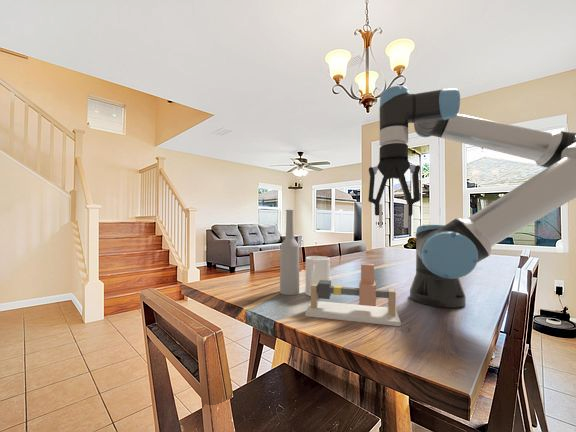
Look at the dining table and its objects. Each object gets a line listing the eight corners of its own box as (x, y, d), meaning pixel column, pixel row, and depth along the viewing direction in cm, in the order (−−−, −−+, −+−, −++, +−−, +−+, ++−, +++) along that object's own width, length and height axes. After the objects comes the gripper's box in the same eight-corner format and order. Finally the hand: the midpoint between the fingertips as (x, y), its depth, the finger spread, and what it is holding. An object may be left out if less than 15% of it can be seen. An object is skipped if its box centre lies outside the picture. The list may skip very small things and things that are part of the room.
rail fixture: (395, 311, 74) (395, 282, 74) (400, 326, 64) (400, 292, 64) (312, 303, 80) (312, 276, 80) (305, 316, 70) (305, 285, 70)
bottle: (275, 292, 92) (276, 209, 91) (290, 288, 96) (290, 210, 96) (289, 296, 87) (289, 209, 87) (303, 292, 91) (303, 209, 91)
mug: (323, 301, 82) (323, 262, 82) (297, 298, 85) (297, 260, 85) (333, 291, 93) (333, 256, 93) (309, 288, 96) (310, 255, 96)
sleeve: (374, 300, 73) (375, 263, 73) (375, 306, 68) (375, 266, 68) (359, 298, 74) (359, 262, 74) (359, 304, 69) (359, 265, 69)
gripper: (427, 146, 77) (427, 227, 77) (358, 150, 82) (358, 226, 82) (434, 139, 70) (433, 228, 70) (358, 144, 75) (357, 227, 75)
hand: (393, 227), depth 76 cm, fingers open, 6 cm apart
